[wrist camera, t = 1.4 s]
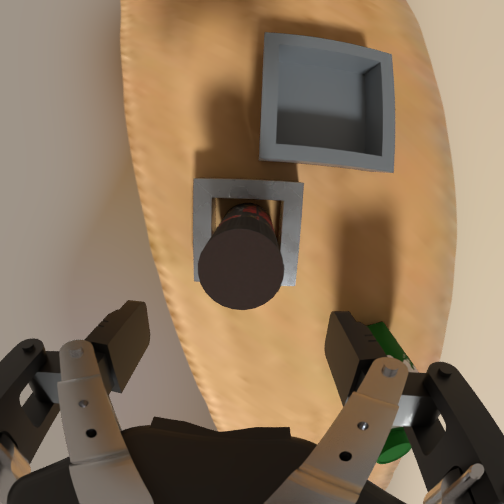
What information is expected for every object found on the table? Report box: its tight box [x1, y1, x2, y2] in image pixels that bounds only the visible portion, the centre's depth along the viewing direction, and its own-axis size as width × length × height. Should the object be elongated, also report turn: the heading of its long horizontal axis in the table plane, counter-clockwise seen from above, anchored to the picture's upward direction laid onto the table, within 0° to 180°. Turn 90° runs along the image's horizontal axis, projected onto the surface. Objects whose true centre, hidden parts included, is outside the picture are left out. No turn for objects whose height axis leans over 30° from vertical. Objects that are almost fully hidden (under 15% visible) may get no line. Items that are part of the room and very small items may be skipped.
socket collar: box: [193, 178, 304, 286], centre depth 32 cm, size 12×12×4 cm
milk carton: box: [367, 321, 419, 464], centre depth 28 cm, size 9×9×20 cm
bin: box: [259, 32, 395, 173], centre depth 26 cm, size 14×14×6 cm
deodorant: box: [198, 203, 284, 310], centre depth 26 cm, size 6×6×15 cm
